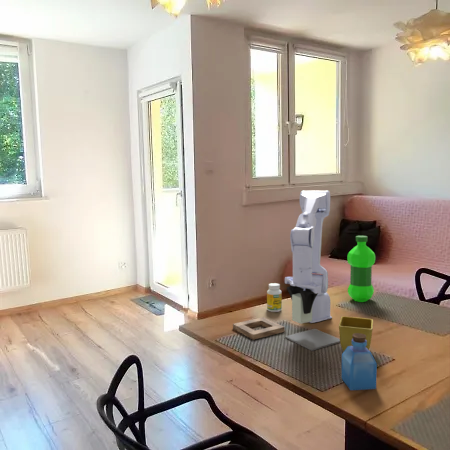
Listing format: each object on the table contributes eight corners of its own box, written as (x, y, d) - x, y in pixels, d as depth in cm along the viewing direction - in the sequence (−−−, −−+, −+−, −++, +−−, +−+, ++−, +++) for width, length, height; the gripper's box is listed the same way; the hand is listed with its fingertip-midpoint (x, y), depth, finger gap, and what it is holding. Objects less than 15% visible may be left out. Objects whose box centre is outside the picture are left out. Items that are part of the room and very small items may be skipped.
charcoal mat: (314, 330, 146) (314, 328, 146) (342, 341, 136) (342, 340, 136) (285, 337, 140) (285, 336, 140) (311, 350, 130) (311, 349, 130)
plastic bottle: (344, 296, 183) (345, 234, 180) (371, 296, 182) (372, 234, 179) (348, 303, 173) (349, 238, 170) (377, 303, 172) (378, 238, 169)
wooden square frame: (263, 321, 155) (263, 317, 155) (284, 331, 145) (284, 326, 145) (232, 328, 149) (232, 323, 149) (253, 339, 139) (253, 334, 139)
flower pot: (372, 349, 130) (373, 318, 129) (371, 361, 122) (372, 328, 121) (341, 345, 133) (341, 315, 132) (338, 357, 125) (338, 325, 124)
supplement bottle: (275, 306, 171) (275, 281, 170) (284, 310, 167) (284, 284, 166) (264, 309, 168) (263, 284, 167) (273, 313, 164) (273, 287, 163)
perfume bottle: (341, 378, 113) (342, 331, 111) (365, 376, 113) (366, 330, 112) (350, 390, 107) (351, 341, 105) (376, 388, 107) (377, 339, 106)
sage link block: (303, 317, 142) (303, 292, 141) (312, 321, 139) (312, 295, 138) (292, 320, 140) (292, 294, 139) (300, 323, 136) (300, 297, 135)
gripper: (276, 264, 141) (277, 307, 143) (308, 273, 129) (307, 320, 131) (294, 262, 145) (294, 303, 146) (326, 270, 132) (326, 315, 134)
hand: (302, 311), depth 139 cm, fingers closed on sage link block, 4 cm apart
